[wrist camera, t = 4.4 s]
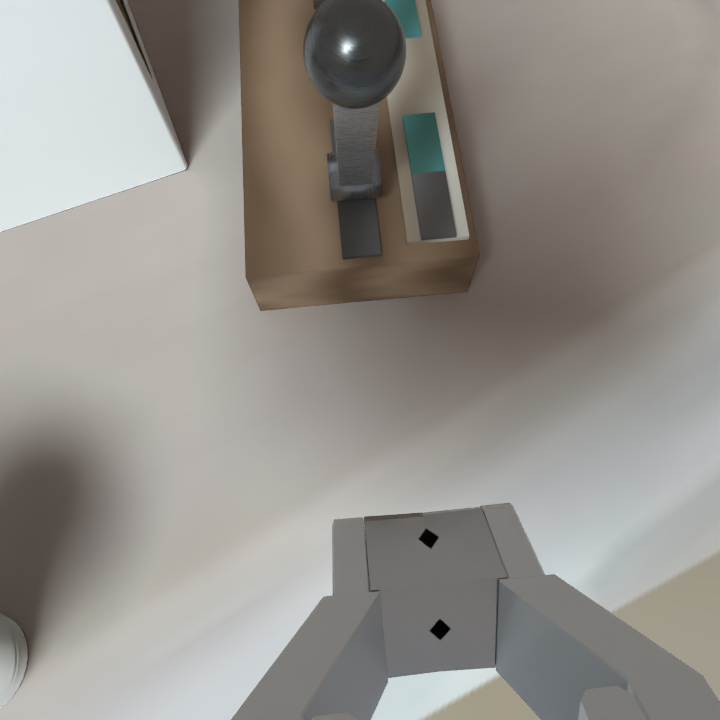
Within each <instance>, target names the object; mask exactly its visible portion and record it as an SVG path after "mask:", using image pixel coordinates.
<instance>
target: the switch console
mask: <svg viewBox="0 0 720 720" xmlns="http://www.w3.org/2000/svg"><path fill="white" fill-rule="evenodd" d="M383 1H384V2H385V3H386V4H387V5H388V6H389V7H390V8H391V9H392V10H393V11H394V12H395V14H396V16H397V17H398V19H399V21H400V23H401V25H402V28H403V31H404V35H405V40H406V61H405V66H404V69H403V72H402V75H401V78H400V79H399V81H398V83H397V85H396V86H395V88H394V89H393V90H392V92H391V93H390V94H389V95H388V96H387V97H385V98H384V99H383V100H382V101H380V108H379V118H378V128H377V138H376V148H378V150H379V156H380V164H381V177H382V197H381V198H370V199H359V200H348V201H337V202H331V195H330V186H329V176H328V165H327V153H332V152H336V140H335V127H334V115H333V103H331V102H330V101H328V100H327V99H326V98H324V97H323V96H322V95H321V94H320V93H319V92H318V91H317V90H316V88H315V87H314V85H313V84H312V82H311V80H310V79H309V76H308V74H307V71H306V68H305V64H304V59H303V41H304V35H305V31H306V28H307V25H308V23H309V21H310V19H311V17H312V15H313V14H314V13H315V11H316V10H317V9H316V10H314V4H313V0H239V27H240V67H241V108H242V148H243V188H244V228H245V268H246V279H247V281H248V283H249V286H250V288H251V290H252V293H253V295H254V297H255V299H256V302H257V304H258V306H259V308H260V311H263V310H273V309H284V308H295V307H305V306H316V305H327V304H338V303H348V302H359V301H370V300H380V299H391V298H402V297H412V296H423V295H434V294H445V293H455V292H466V291H468V288H469V285H470V282H471V279H472V276H473V273H474V270H475V267H476V264H477V261H478V258H479V250H478V245H477V240H476V234H475V229H474V224H473V219H472V214H471V208H470V203H469V198H468V193H467V187H466V182H465V177H464V172H463V167H462V161H461V156H460V151H459V146H458V140H457V135H456V130H455V125H454V120H453V114H452V109H451V104H450V99H449V93H448V88H447V83H446V78H445V73H444V67H443V62H442V57H441V52H440V46H439V41H438V36H437V31H436V26H435V20H434V15H433V10H432V5H431V0H383ZM376 148H375V149H376Z"/></svg>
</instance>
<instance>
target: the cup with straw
mask: <svg viewBox="0 0 720 720" xmlns="http://www.w3.org/2000/svg"><path fill="white" fill-rule="evenodd" d="M27 660H28V648H27V643H26V639H25V636H24V634H23V632H22V630H21V628H20V627H19V626H18V624H17V623H16V622H15V621H13V620H12V619H11V618H9V617H8V616H5V615H3V614H0V709H1V708H2V707H4V706H5V705H6V704H7V702H8V701H9V700H10V699H11V698H12V697H13V696H14V694H15V693H16V691H17V690H18V688H19V686H20V684H21V682H22V680H23V678H24V674H25V671H26V668H27Z"/></svg>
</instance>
